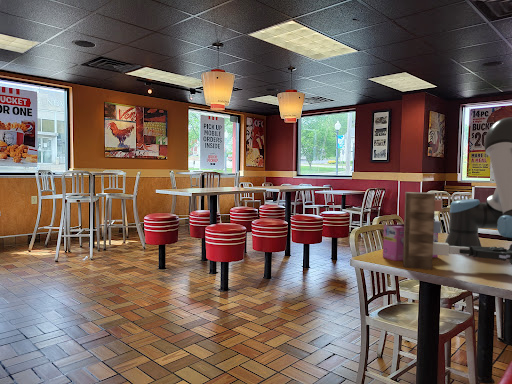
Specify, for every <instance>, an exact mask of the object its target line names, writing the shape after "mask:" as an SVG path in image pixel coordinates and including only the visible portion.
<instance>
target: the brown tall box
mask: <svg viewBox="0 0 512 384" xmlns="http://www.w3.org/2000/svg"><path fill="white" fill-rule="evenodd" d="M404 195H405V199H404V217H403V219H404V220H403V221H404V222H403V224H404V243H403V260H402V264H403V268H411V269H418V270H419V269H421V270H431V271H432V270H433V258H434V257H433V233H434V221H435V211H434V209H435V200H436V193H434V192H420V191H419V192H418V191H417V192H416V191H414V192H413V191H405V193H404ZM432 257H433V258H432Z"/></svg>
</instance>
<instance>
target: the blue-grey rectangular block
mask: <svg viewBox="0 0 512 384" xmlns="http://www.w3.org/2000/svg"><path fill="white" fill-rule="evenodd" d="M441 231H442V222H441V221H440V220H434V233H438V234H441Z"/></svg>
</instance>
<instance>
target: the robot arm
mask: <svg viewBox="0 0 512 384" xmlns="http://www.w3.org/2000/svg"><path fill="white" fill-rule="evenodd" d="M483 143H484V151H485V155H486V156H488V157H489V159H490V164H491V169H492V171H493V172H492V173H493V176H494V181H495V185H496V187H495V190H494V192H493V194H492V195H489V196H488V197H487V199H486V201H485V202H481V201H480V200H479V199H478V198H477V199H474V198H471V199H470V198H469V199H468V198H467V199H458V200H453V201H452V202H451V203H450V207H449V222H448V223H449V227H448V229H449V230H448V234H447V237H446V239H445V242H444V243H448V244H449V255H458V256H459V255H460V256H461V255H462V256H468V257H473V258H481V259H490V260H498V261H503V262H505V261H506V262H507V260H508V261H509V263H510V265H511V266H512V243H511V244H510V245H509V247H508V249H507V248H505V247H503V246H499V247H498V246H482V244H481V241H480V238H479V229H488V230H489V229H494V230H497V232H498V233H499V235H500V236H502V238H503V237H505V238H510V239H512V117H511V116H510V117H504V118H501V119H499V120H497V121H496V122H495V123H494V124H492V125H491V126H490V128H489V129H488V131H487V132H486V134H485V138H484V142H483Z"/></svg>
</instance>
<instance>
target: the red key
mask: <svg viewBox="0 0 512 384" xmlns="http://www.w3.org/2000/svg"><path fill="white" fill-rule="evenodd" d="M442 207H443V200H442V199H435V209H434V212H442V209H443V208H442Z"/></svg>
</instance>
